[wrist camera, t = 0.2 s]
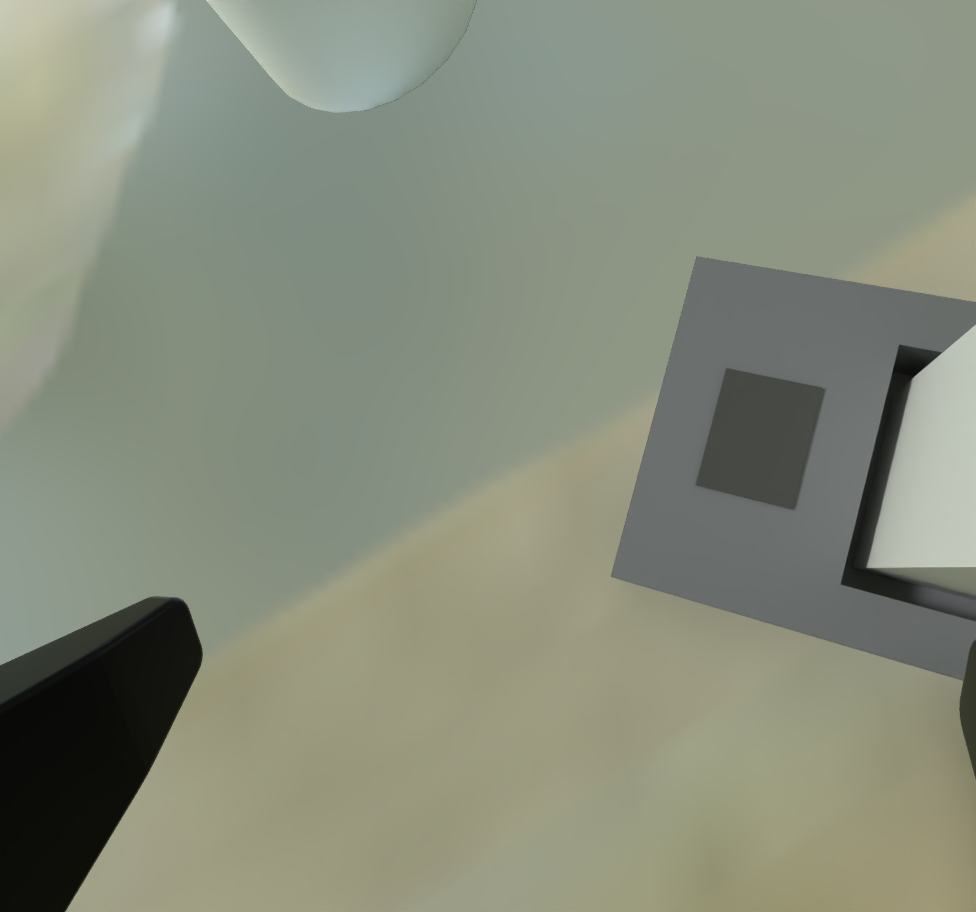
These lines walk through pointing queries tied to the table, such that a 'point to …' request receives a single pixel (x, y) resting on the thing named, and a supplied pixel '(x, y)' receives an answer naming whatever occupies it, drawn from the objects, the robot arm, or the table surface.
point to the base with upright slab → (348, 45)
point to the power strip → (789, 459)
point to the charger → (927, 480)
